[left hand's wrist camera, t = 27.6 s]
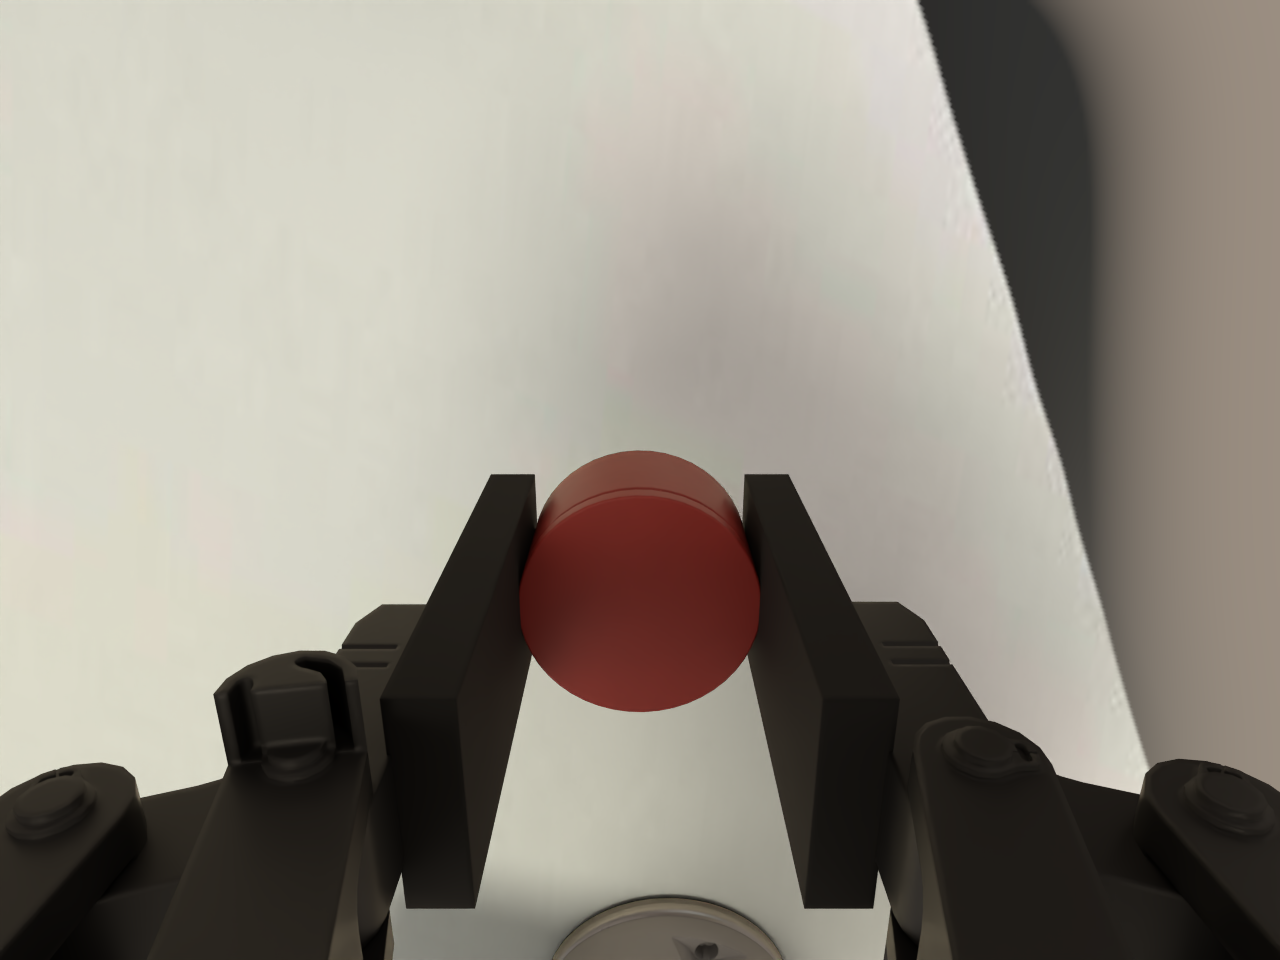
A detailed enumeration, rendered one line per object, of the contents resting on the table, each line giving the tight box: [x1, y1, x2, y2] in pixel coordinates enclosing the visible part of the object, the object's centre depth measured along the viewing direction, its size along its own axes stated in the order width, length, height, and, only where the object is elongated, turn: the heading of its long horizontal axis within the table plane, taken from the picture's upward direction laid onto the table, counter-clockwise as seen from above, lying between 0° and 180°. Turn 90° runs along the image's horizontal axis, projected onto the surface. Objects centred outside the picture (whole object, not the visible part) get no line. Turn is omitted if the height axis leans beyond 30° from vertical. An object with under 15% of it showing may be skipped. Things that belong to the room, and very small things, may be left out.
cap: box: [519, 451, 760, 712], centre depth 13 cm, size 4×4×2 cm
